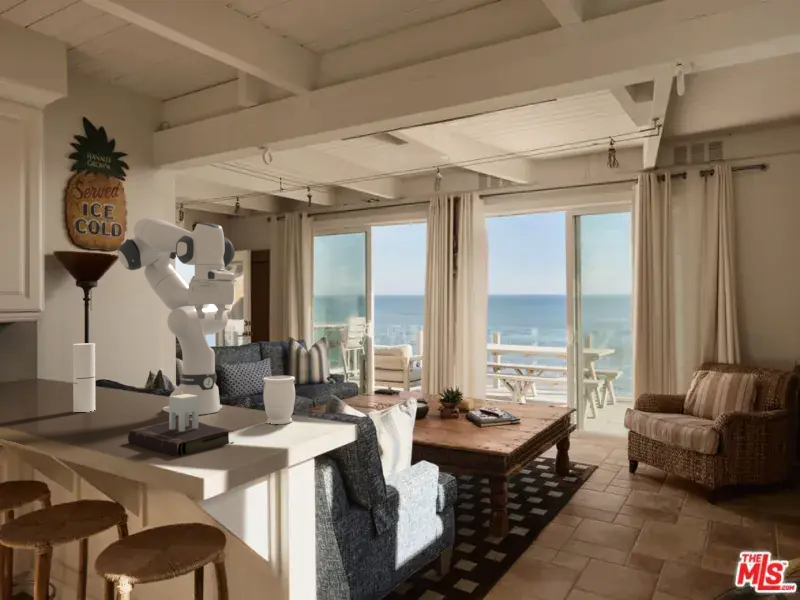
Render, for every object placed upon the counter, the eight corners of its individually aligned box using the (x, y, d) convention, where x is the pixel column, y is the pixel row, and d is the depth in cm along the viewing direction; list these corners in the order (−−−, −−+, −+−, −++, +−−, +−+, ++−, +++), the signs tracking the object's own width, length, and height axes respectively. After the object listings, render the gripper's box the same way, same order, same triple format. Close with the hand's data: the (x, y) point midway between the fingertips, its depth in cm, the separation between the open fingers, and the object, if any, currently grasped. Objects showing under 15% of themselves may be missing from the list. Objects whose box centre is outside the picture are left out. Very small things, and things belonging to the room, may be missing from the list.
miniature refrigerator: (88, 412, 206) (88, 344, 206) (69, 413, 206) (68, 344, 206) (99, 409, 213) (98, 343, 214) (80, 409, 214) (80, 343, 214)
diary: (176, 461, 147) (175, 442, 147) (127, 447, 162) (127, 429, 162) (236, 445, 161) (235, 427, 161) (186, 433, 177) (186, 417, 176)
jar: (287, 426, 182) (287, 379, 182) (258, 425, 184) (257, 379, 184) (300, 419, 193) (299, 375, 193) (271, 418, 195) (271, 375, 195)
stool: (169, 428, 161) (169, 396, 161) (186, 425, 165) (186, 393, 165) (181, 431, 158) (181, 398, 158) (198, 427, 162) (198, 395, 162)
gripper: (182, 275, 179) (182, 318, 179) (219, 273, 166) (219, 320, 166) (200, 275, 184) (200, 318, 184) (237, 274, 171) (237, 319, 171)
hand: (209, 319), depth 175 cm, fingers open, 8 cm apart
